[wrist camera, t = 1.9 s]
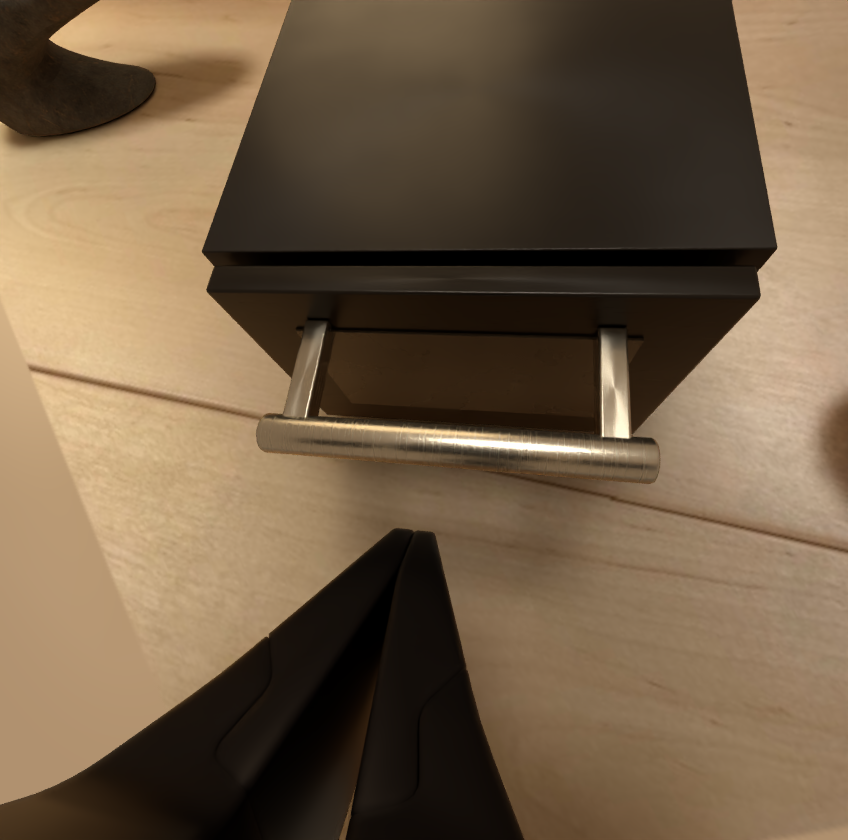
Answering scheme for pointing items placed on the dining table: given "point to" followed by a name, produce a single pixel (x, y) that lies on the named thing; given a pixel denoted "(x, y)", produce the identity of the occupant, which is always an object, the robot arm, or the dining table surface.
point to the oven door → (482, 359)
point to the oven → (499, 139)
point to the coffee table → (59, 73)
